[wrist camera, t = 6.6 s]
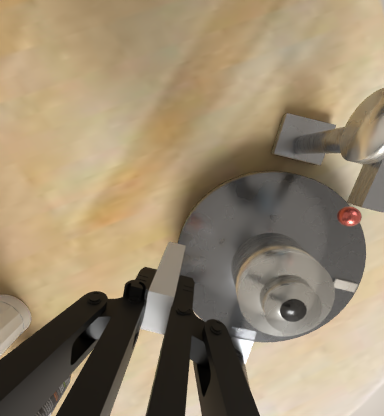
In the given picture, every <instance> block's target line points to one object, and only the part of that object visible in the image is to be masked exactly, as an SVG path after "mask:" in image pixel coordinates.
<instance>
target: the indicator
mask: <svg viewBox="0 0 384 416" xmlns="http://www.w3.org/2000/svg"><path fill="white" fill-rule="evenodd" d="M335 127H336V125H333V124H329V123H325V122H321V121H317V120H313V119H309V118H305V117H301V116H297V115H293V114H289V113H286V114H284V115H283V118H282V121H281V124H280V127H279V130H278V133H277V137H276V140H275V143H274V146H273V149H272V152H271V154H274V155H278V156H282V157H286V158H290V159H294V160H298V161H302V162H306V163H311V164H315V165H321V163H322V161H323V158H324V155H325V153H341V155H342V157H343V158H344V159H346V160H348V161H352V162H356V163H360V164H363V166H362V169H361V171H360V173H359V176H358V178H357V180H356V183H355V185H354V187H353V189H352V192H351V194H350V196H349V199H348V201H347V203H350V204H353V205H356V206H359V207H363V208H367V209H371V210H375V211H379V212H384V88H382V89H380V90H378V91H376V92H374V93H373V94H371V95H370V96H369V97H367V98H366V99H365V100H364V101H363V102H362V103H361V104H360V105H359V106H358V107H357V109H356V110H355V111H354V113H353V114H352V115H351V117H350V119H349V120H348V122H347V124H346V126H345V127H342V128H337V129H335ZM337 219H338V221H339V222H340V223H341V224H342V225H345V226H355V225H357V224H358V223H359V222H360V221H361V213H360V211H359V210H358V209H356V208H354V207H344V208H342V209H340V210H339V212H338V214H337Z"/></svg>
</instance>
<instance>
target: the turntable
mask: <svg viewBox="0 0 384 416" xmlns="http://www.w3.org/2000/svg"><path fill="white" fill-rule="evenodd" d="M344 207H350V206H349V205H348V204H347V202H346V201H345V200H344V199H343V198H342V197H340V196H339V195H338V194H337V193H336V192H335V191H333V190H332V189H330V188H329V187H327V186H326V185H324V184H322V183H320V182H318V181H316V180H313V179H310V178H307V177H304V176H301V175H296V174H291V173H286V172H278V171H263V172H254V173H249V174H245V175H241V176H238V177H236V178H233V179H230V180H228V181H226V182H224V183H222V184H221V185H219V186H217V187H216V188H214V189H213V190H212V191H210V192H209V193H208V194H207V195H206V196H204V197H203V198H202V199H201V200H200V201H199V202H198V204H197V205H196V206H195V207H194V208H193V210H192V211H191V213H190V214H189V216H188V217H187V219H186V221H185V223H184V226H183V228H182V231H181V234H180V237H179V240H178V244H181V245H185V246H186V247H185V251H184V256H183V261H182V265H181V270H180V274H179V275H182V276H187V277H191V278H193V280H194V282H195V286H194V297H193V311H194V312H195V313H196V314H197V315H198V316H199V317H200V318H201V319H202V320H203V321H204V322H206V321H207V320H209V319H216V320H219V321H220V322H222V323H223V324H224V325H225V326H226V328H227V330H228V332H229V335H230V338H231V340H232V343H233V345H234V348H235V351H236V353H237V356H238V359H239V361H240V364H241V367H242V369H243V372H244V375H245V377H246V380H247V383H248V385H249V382H248V377H247V372H246V367H245V363H246V360H247V357H248V355H249V352H250V350H251V347H252V344H253V342H278V341H285V340H289V339H293V338H297V337H300V336H303V335H306V334H308V333H310V332H312V331H314V330H316V329H318V328H320V327H321V326H323V325H325V324H326V323H328V322H329V321H330V320H332V319H333V318H334V317H335V316H337V315H338V314H339V313H340V311H341V310H342V309H343V308H344V307H345V306H346V305H347V304H348V302H349V301H350V300H351V298H352V297H353V295H354V293H355V292H356V290H357V288H358V286H359V283H360V281H361V279H362V275H363V271H364V268H365V260H366V245H365V239H364V234H363V230H362V228H361V225H360V223H358V224H357V225H355V226H345V225H342V224H341V223H340V222H339V221H338V219H337V214H338V212H339V210H340V209H342V208H344ZM264 233H279V234H283V235H286V236H288V237H290V238H292V239H293V240H295V241H296V242H297V243H298V244H299V245H300V246H302V247H303V248H304V249H305V250H306V251H307V252H308V253H309V254H310V255H311V256H312V257H313V258H314V259H315V260H316V261H317V262H319V263H320V264H321V265H322V266H323V267H324V268H325V269H326V270H327V272H328V273H329V274H330V276H331V278H332V280H333V283H334V287H335V299H334V303H333V306H332V308H331V311H330V312H329V314H328V315H327V317H326V318H325V319H324V320H323V321H322V322H321V323H320V324H319V325H317V326H316V327H315V328H313V329H311V330H309V331H307V332H305V333H302V334H299V335H294V336H274V335H269V334H266V333H263V332H261V331H259V330H257V329H256V328H254V327H253V326H252V325H251V324H250V323H249V322H248V321H247V320H246V319H245V318H244V316H243V314H242V312H241V310H240V307H239V303H238V298H237V294H236V290H235V285H234V281H233V276H232V271H231V266H232V260H233V257H234V255H235V253H236V251H237V250H238V248H239V247H240V246H241V245H242V244H243V243H244V242H245V241H247V240H248V239H250V238H252V237H254V236H256V235H259V234H264ZM249 388H250V387H249Z"/></svg>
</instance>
